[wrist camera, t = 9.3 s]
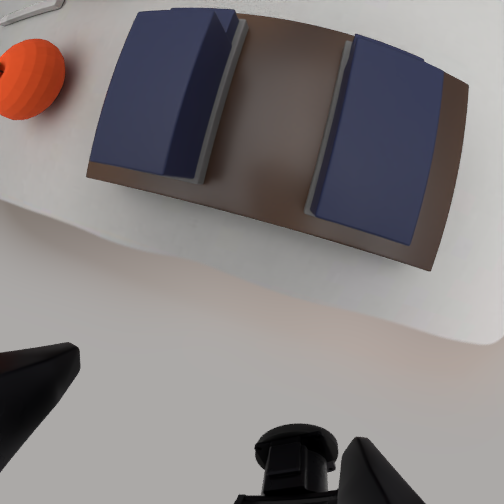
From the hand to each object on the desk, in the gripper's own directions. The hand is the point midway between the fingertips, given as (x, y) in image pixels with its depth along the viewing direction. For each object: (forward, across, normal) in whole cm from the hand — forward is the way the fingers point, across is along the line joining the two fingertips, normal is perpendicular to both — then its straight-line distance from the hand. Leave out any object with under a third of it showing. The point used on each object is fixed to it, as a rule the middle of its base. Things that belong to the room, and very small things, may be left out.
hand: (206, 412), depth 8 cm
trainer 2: (+8, -3, -10) cm, 13 cm away
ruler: (+12, +32, -21) cm, 40 cm away
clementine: (+12, +22, -11) cm, 27 cm away
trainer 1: (+8, +6, -10) cm, 14 cm away
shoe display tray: (+12, +1, -10) cm, 16 cm away
